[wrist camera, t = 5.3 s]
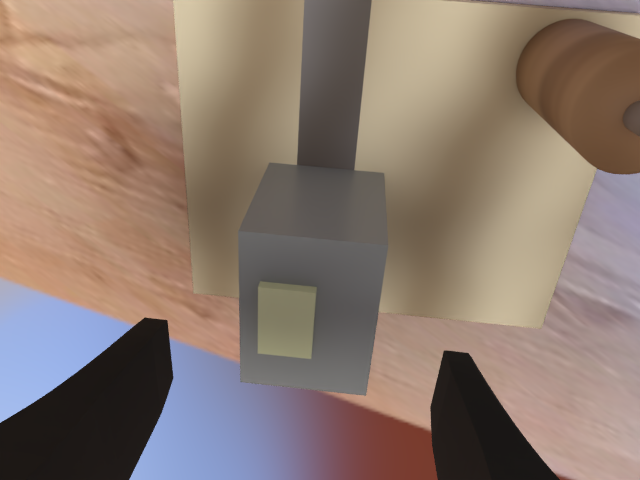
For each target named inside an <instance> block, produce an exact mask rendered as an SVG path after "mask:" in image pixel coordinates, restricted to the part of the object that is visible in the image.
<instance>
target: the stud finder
mask: <svg viewBox="0 0 640 480" xmlns="http://www.w3.org/2000/svg"><path fill="white" fill-rule="evenodd" d="M387 251H388V231H387V213H386V196H385V179H384V173H379V172H368V171H358V170H347V169H336V168H325V167H314V166H303V165H292V164H281V163H270V162H269V164H268V167H267V169H266V171H265V173H264V175H263V178H262V180H261V182H260V184H259V186H258V189H257V191H256V193H255V195H254V197H253V199H252V202H251V204H250V206H249V208H248V210H247V213H246V215H245V217H244V219H243V221H242V224H241V226H240V228H239V230H238V256H239V318H240V377H241V378H240V380H241V382H246V383H255V384H264V385H273V386H282V387H292V388H301V389H310V390H319V391H328V392H337V393H347V394H356V395H365V396H366V392H367V386H368V379H369V372H370V365H371V359H372V352H373V345H374V339H375V332H376V325H377V318H378V312H379V305H380V298H381V292H382V285H383V278H384V271H385V265H386V258H387Z"/></svg>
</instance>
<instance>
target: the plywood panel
mask: <svg viewBox="0 0 640 480" xmlns="http://www.w3.org/2000/svg"><path fill="white" fill-rule="evenodd" d="M173 6H174V20H175V35H176V49H177V64H178V78H179V93H180V107H181V122H182V136H183V151H184V165H185V180H186V194H187V209H188V223H189V238H190V252H191V266H192V281H193V293H196V294H205V295H215V296H225V297H235V298H239V256H238V230H239V228H240V226H241V224H242V221H243V219H244V217H245V215H246V213H247V210H248V208H249V206H250V204H251V202H252V199H253V197H254V195H255V193H256V191H257V189H258V186H259V184H260V182H261V180H262V178H263V175H264V173H265V171H266V169H267V167H268V164H269V162H270V163H281V164H292V165H303V166H314V167H325V168H336V169H347V170H358V171H368V172H379V173H384V179H385V196H386V213H387V231H388V251H387V258H386V265H385V271H384V278H383V285H382V292H381V298H380V305H379V312H381V313H391V314H401V315H411V316H420V317H430V318H440V319H450V320H460V321H469V322H479V323H489V324H499V325H508V326H518V327H528V328H538V329H541V328H542V325H543V322H544V319H545V316H546V313H547V310H548V308H549V305H550V302H551V299H552V296H553V293H554V290H555V288H556V285H557V282H558V279H559V276H560V273H561V270H562V267H563V265H564V262H565V259H566V256H567V253H568V250H569V247H570V245H571V242H572V239H573V236H574V233H575V230H576V227H577V225H578V222H579V219H580V216H581V213H582V210H583V207H584V204H585V202H586V199H587V196H588V193H589V190H590V187H591V184H592V182H593V179H594V176H595V173H596V170H597V168H596V167H594V166H592V165H591V164H590V163H589V162H587V161H586V160H585V159H584V158H583V157H582V156H581V155H580V154H579V153H578V152H577V151H576V150H575V149H574V148H573V147H572V146H571V145H570V144H569V143H568V142H567V141H565V140H564V139H563V138H562V137H561V136H560V135H559V134H558V133H557V132H556V131H555V130H554V129H553V128H552V127H551V126H550V125H549V124H548V123H547V122H546V121H545V120H544V119H543V118H542V117H541V116H540V115H539V114H537V113H536V112H535V111H534V110H533V109H532V108H531V107H530V106H529V105H528V104H527V103H526V102H525V101H524V99H523V98H522V96H521V95H520V93H519V90H518V87H517V83H516V69H517V64H518V60H519V58H520V55H521V53H522V51H523V49H524V48H525V46H526V45H527V43H528V42H529V41H530V40H531V39H532V37H533V36H535V35H536V34H537V33H538V32H539V31H540V30H542V29H543V28H545V27H547V26H548V25H550V24H552V23H555V22H557V21H561V20H565V19H583V20H587V21H590V22H593V23H596V24H599V25H602V26H604V27H607V28H610V29H613V30H616V31H619V32H622V33H625V34H627V35H630V36H633V37H636V38H639V39H640V14H639V13H628V12H615V11H602V10H589V9H576V8H563V7H550V6H537V5H524V4H511V3H498V2H486V1H473V0H173Z"/></svg>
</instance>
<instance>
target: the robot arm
mask: <svg viewBox="0 0 640 480" xmlns="http://www.w3.org/2000/svg"><path fill="white" fill-rule="evenodd" d="M172 380H173V371H172V361H171V352H170V341H169V332H168V322H167V320H161V319H151V318H144V319H143V320H141V321H140V322H139V323H137V324H136V325H135V326H134V327H132V328H131V329H130V330H129V331H128V332H126V333H125V334H124V335H123V336H122V337H120V338H119V339H118V340H117V341H116V342H114V343H113V344H112V345H111V346H110V347H108V348H107V349H106V350H105V351H103V352H102V353H101V354H100V355H98V356H97V357H96V358H95V359H93V360H92V361H91V362H90V363H88V364H87V365H86V366H84V367H83V368H82V369H81V370H79V371H78V372H77V373H75V374H74V375H73V376H71V377H70V378H69V379H67V380H66V381H64V382H63V383H62V384H60V385H59V386H57V387H56V388H55V389H53V390H52V391H51V392H49V393H48V394H46V395H45V396H43V397H42V398H40V399H39V400H37V401H35V402H34V403H32V404H31V405H29V406H28V407H26V408H24V409H23V410H21V411H19V412H18V413H16V414H14V415H13V416H11V417H10V418H8V419H6V420H4V421H2V422H1V423H0V480H129V479H130V477H131V475H132V473H133V471H134V469H135V467H136V464H137V462H138V460H139V458H140V456H141V454H142V452H143V450H144V448H145V446H146V444H147V442H148V440H149V438H150V436H151V434H152V432H153V430H154V428H155V425H156V424H157V421H158V419H159V417H160V415H161V413H162V410H163V407H164V404H165V401H166V399H167V395H168V392H169V389H170V386H171V383H172ZM431 431H432V446H433V453H434V459H435V465H436V471H437V477H438V480H560V479H559V478H558V477H557V476H556V475H555V474H554V473H553V472H552V470H551V469H550V468H549V467H548V466H547V465H546V463H545V462H544V461H543V460H542V459H541V457H540V456H539V455H538V454H537V452H536V451H535V450H534V449H533V447H532V446H531V445H530V444H529V442H528V441H527V440H526V438H525V437H524V436H523V434H522V433H521V432H520V430H519V429H518V428H517V426H516V425H515V424H514V422H513V421H512V419H511V418H510V416H509V415H508V414H507V412H506V411H505V409H504V408H503V406H502V405H501V404H500V402H499V401H498V399H497V398H496V396H495V394H494V393H493V391H492V390H491V388H490V387H489V385H488V384H487V382H486V380H485V379H484V377H483V375H482V374H481V372H480V371H479V369H478V367H477V366H476V364H475V362H474V361H473V359H472V357H471V356H470V355H469V353H463V352H454V351H444V353H443V357H442V361H441V365H440V370H439V374H438V378H437V382H436V386H435V391H434V395H433V399H432V403H431Z"/></svg>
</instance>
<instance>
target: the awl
mask: <svg viewBox="0 0 640 480" xmlns="http://www.w3.org/2000/svg"><path fill="white" fill-rule="evenodd" d="M516 83H517V87H518V90H519V93H520V95H521V96H522V98H523V99H524V101H525V102H526V103H527V104H528V105H529V106H530V107H531V108H532V109H533V110H534V111H535V112H536V113H537V114H539V115H540V116H541V117H542V118H543V119H544V120H545V121H546V122H547V123H548V124H549V125H550V126H551V127H552V128H553V129H554V130H555V131H556V132H557V133H558V134H559V135H560V136H561V137H562V138H563V139H564V140H565V141H567V142H568V143H569V144H570V145H571V146H572V147H573V148H574V149H575V150H576V151H577V152H578V153H579V154H580V155H581V156H582V157H583V158H584V159H585V160H586V161H587V162H589V163H590V164H591V165H592V166H594V167H596V168H598V169H600V170H602V171H605V172H608V173H613V174H634V173H640V39H639V38H636V37H633V36H630V35H627V34H625V33H622V32H619V31H616V30H613V29H610V28H607V27H604V26H602V25H599V24H596V23H593V22H590V21H587V20H583V19H565V20H561V21H557V22H555V23H552V24H550V25H548V26H547V27H545V28H543V29H542V30H540V31H539V32H538V33H537V34H536V35H535V36H533V37H532V39H531V40H530V41H529V42H528V43H527V45H526V46H525V48H524V49H523V51H522V53H521V55H520V58H519V60H518V64H517V69H516Z"/></svg>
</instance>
